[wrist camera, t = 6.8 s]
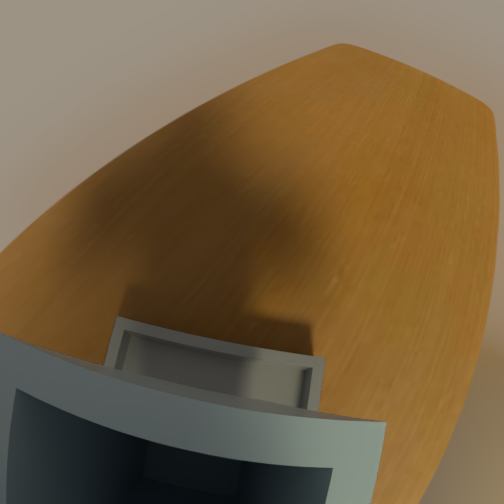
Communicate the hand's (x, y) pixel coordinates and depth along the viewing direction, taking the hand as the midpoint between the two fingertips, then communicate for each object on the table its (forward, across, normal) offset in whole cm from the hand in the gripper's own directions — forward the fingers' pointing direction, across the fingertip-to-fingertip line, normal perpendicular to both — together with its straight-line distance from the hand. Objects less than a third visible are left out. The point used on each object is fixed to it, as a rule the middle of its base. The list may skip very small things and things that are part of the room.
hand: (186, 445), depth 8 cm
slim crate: (+5, 0, +6) cm, 8 cm away
